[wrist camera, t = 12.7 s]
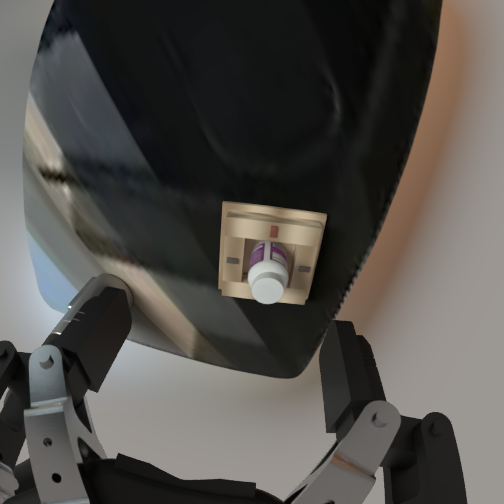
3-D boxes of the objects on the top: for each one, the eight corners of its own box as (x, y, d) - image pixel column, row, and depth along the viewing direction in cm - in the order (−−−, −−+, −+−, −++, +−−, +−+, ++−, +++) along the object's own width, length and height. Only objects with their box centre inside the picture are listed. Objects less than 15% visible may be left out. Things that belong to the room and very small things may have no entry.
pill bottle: (255, 271, 44) (250, 310, 35) (248, 241, 41) (241, 276, 33) (289, 267, 43) (291, 305, 34) (284, 236, 41) (286, 270, 32)
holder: (219, 286, 46) (215, 300, 43) (223, 201, 39) (218, 209, 36) (307, 297, 46) (309, 311, 43) (326, 213, 39) (331, 223, 36)
